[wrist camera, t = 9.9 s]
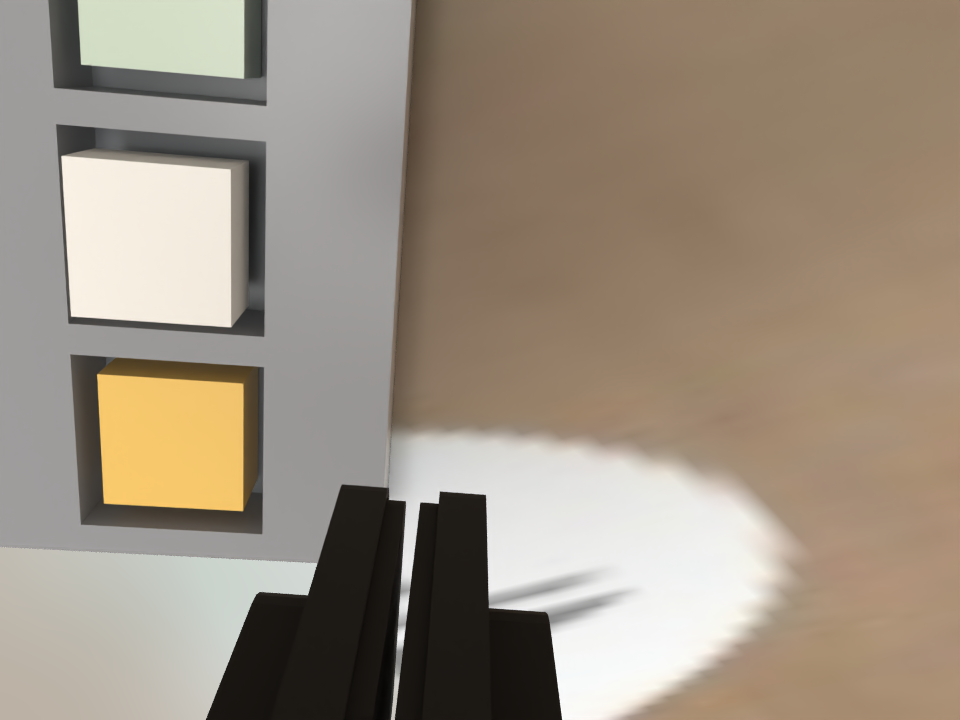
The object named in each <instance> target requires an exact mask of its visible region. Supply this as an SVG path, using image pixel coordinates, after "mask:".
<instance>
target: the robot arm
mask: <svg viewBox="0 0 960 720" xmlns="http://www.w3.org/2000/svg"><path fill="white" fill-rule="evenodd" d="M405 511H406V501H394V500H389V488H385V487H372V486H359V485H345V484H342V485H341V487H340V490H339V494H338V497H337V500H336V504H335V507H334V510H333V514H332V517H331V520H330V524H329V527H328V530H327V534H326V537H325V540H324V544H323V547H322V550H321V554H320V557H319V560H318V564H317V567H316V570H315V574H314V577H313V580H312V584H311V587H310V591H309V594H308V595H293V594H280V593H265V592H259V593H258V594H257V595H256V597H255V598H254V600H253V603H252V604H251V607H250V610H249V612H248V615H247V617H246V620H245V622H244V625H243V627H242V630H241V632H240V635H239V638H238V640H237V642H236V645H235V647H234V650H233V652H232V655H231V658H230V660H229V663H228V665H227V668H226V671H225V673H224V675H223V678H222V680H221V683H220V685H219V688H218V690H217V693H216V696H215V698H214V701H213V703H212V706H211V708H210V711H209V713H208V716H207V718H206V720H391V714H392V703H393V691H394V677H395V662H396V647H397V632H398V617H399V602H400V587H401V572H402V557H403V542H404V527H405ZM395 720H562V716H561V708H560V700H559V692H558V684H557V676H556V669H555V661H554V653H553V645H552V637H551V629H550V622H549V617H548V614H547V613H546V612H535V611H521V610H506V609H492V608H489V600H488V557H487V515H486V495H479V494H465V493H452V492H440V497H439V504H434V503H420V511H419V519H418V528H417V536H416V545H415V553H414V562H413V570H412V579H411V587H410V596H409V604H408V613H407V621H406V630H405V638H404V647H403V655H402V664H401V672H400V680H399V689H398V698H397V706H396V714H395Z"/></svg>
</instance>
